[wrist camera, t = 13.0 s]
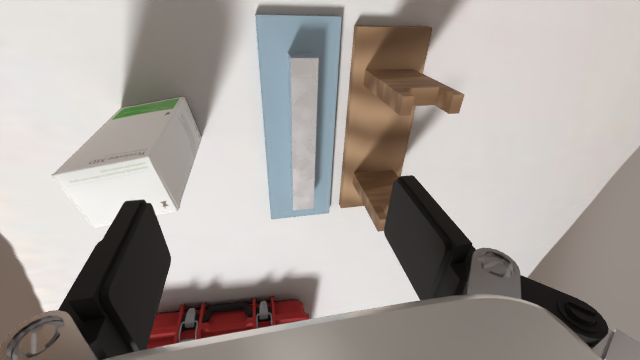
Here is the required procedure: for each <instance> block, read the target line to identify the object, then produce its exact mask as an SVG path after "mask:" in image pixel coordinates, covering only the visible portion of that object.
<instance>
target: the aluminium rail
mask: <svg viewBox="0 0 640 360" xmlns="http://www.w3.org/2000/svg"><path fill="white" fill-rule="evenodd" d="M318 63H319V58H318V57H317V56H316V55H315V54H314V53H288V89H289V139H290V189H291V202H292V207H293V210H303V209H313V208H314V181H315V152H316V122H317V92H318Z"/></svg>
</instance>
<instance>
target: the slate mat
mask: <svg viewBox="0 0 640 360" xmlns="http://www.w3.org/2000/svg"><path fill="white" fill-rule="evenodd" d="M255 16H256V28H257V41H258V54H259V67H260V80H261V93H262V106H263V119H264V132H265V145H266V158H267V171H268V184H269V197H270V210H271V219H278V218H288V217H297V216H306V215H316V214H325V213H329V208H330V192H331V176H332V160H333V145H334V129H335V113H336V97H337V82H338V66H339V50H340V34H341V18H342V17H341V16H313V15H267V14H255ZM288 53H314V54H315V55H316V56H317V57H318V58H319V63H318V92H317V122H316V152H315V181H314V208H313V209H303V210H293V207H292V202H291V189H290V139H289V89H288Z"/></svg>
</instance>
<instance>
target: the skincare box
mask: <svg viewBox="0 0 640 360" xmlns="http://www.w3.org/2000/svg"><path fill="white" fill-rule="evenodd" d="M200 142H201V136H200V133H199V131H198V128H197V126H196V123H195V121H194V118H193V116H192V113H191V111H190V108H189V106H188V103H187V101H186V99H185V97H178V98H173V99H166V100H161V101H155V102H150V103H145V104H140V105H134V106H128V107H123V108H120V109H119V110H118V111H117V112H116V113H115V114H114V115H113V116H112V117H111V118H110V119H109V120H108V121H107V122H106V123H105V124H104V125H103V126H102V127H101V128H100V129H99V130H98V131H97V132H96V133H95V134H94V135H93V136H92V137H91V138H90V139H89V140H88V141H87V142H86V143H85V144H84V145H83V146H82V147H81V148H80V149H79V150H78V151H76V152H75V153H74V154H73V155H72V156H71V157H70V158H69V159H68V160H67V161H66V162H65V163H64V164H63V165H62V166H61V167H60V168H59V169H58V170H57V171H56V172H55V173H54V174H52V175H51V176H52V178H53V179H54V180H55V181H56V183H57V184H58V185H59V186H60V188H61V189H62V190H63V191H64V192H65V194H66V195H67V196H68V197H69V198H70V200H71V201H72V202H73V204H74V205H75V206H76V207H77V209H78V210H79V211H80V212H81V214H82V215H83V216H84V217H85V219H86V220H87V221H88V222H89V224H90V225H91V226H92V227H93V228H96V227H100V226H105V225H110V224H112V222H113V220H114V219H115V217H116V215H117V214H118V212H119V210H120V208H121V207H122V205H123V203H124V202H125V201H131V200H142V199H143V200H145V201H146V203H151V204H152V206H153V209H154V211H155V214H156V215H159V214H164V213H169V212H174V211H178V210H179V208H180V202H181V199H182V196H183V193H184V190H185V187H186V184H187V181H188V178H189V175H190V172H191V169H192V166H193V163H194V160H195V157H196V154H197V151H198V148H199V145H200Z"/></svg>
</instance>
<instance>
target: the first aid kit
mask: <svg viewBox="0 0 640 360" xmlns="http://www.w3.org/2000/svg"><path fill="white" fill-rule="evenodd" d="M303 320H309V316H308V314H307V313H305V312H304V309H303V304H302V302H300V301H295V300H291V301H281V302H274V296H271V301H270V303H266V301H261V303H260V304H255V298H253V304H251V305H248V304H247V303H246V302H244V303H234V304H224V305H214V306H211V307H210V308H209V309H206V307H205V303H202V304H201V309H200V310H195V309H194V308H189V310H188V311H186V308H185V305H181V308H180V312H172V313H162V314H156V317H155V321H154V324H153V328H152V331H151V335H150V338H149V342H148V346H147V349H150V348H156V347H161V346H166V345H171V344H176V343H181V342H186V341H191V340H197V339H202V338H208V337H213V336H219V335H225V334H230V333H236V332H241V331H247V330H252V329H258V328H263V327H269V326H275V325H280V324H286V323H292V322H297V321H303Z"/></svg>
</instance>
